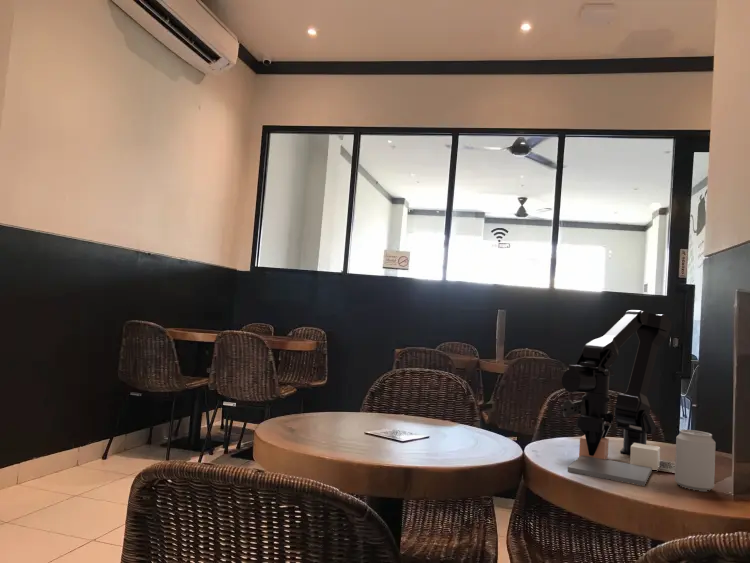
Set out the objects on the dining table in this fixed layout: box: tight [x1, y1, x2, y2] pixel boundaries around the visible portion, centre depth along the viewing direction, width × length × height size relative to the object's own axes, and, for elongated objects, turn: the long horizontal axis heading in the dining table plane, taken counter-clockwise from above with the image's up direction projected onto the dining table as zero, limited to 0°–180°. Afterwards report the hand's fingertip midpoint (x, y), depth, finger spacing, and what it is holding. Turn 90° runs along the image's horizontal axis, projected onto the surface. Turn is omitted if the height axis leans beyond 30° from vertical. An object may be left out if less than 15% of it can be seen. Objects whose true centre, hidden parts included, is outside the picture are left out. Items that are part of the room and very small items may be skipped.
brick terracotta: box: [578, 434, 610, 460], centre depth 149 cm, size 6×6×5 cm
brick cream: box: [629, 443, 661, 471], centre depth 143 cm, size 6×6×5 cm
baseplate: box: [567, 455, 653, 487], centre depth 134 cm, size 16×16×1 cm
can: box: [674, 429, 716, 492], centre depth 126 cm, size 8×8×12 cm
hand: (593, 453), depth 149 cm, fingers open, 6 cm apart
